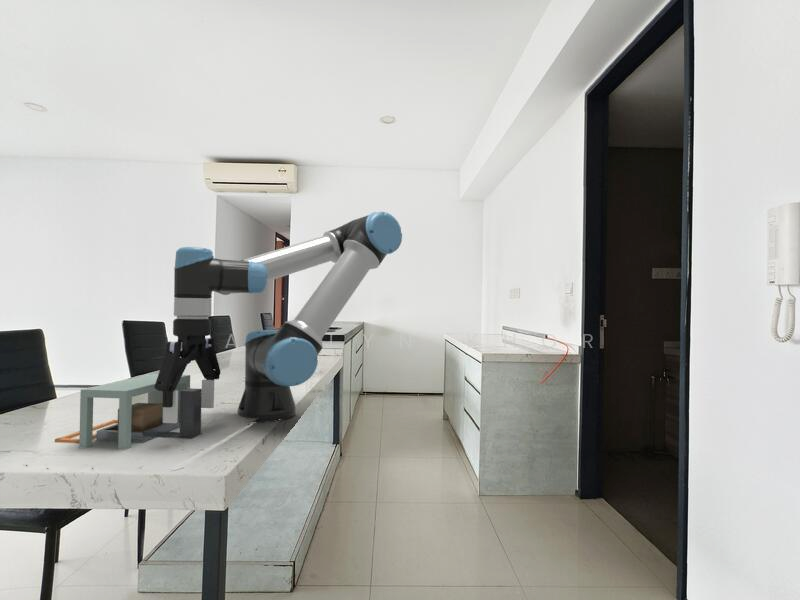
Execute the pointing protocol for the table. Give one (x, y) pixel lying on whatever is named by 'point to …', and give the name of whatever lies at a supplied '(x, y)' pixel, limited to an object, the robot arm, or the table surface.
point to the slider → (188, 423)
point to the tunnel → (122, 404)
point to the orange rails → (69, 437)
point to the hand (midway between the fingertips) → (190, 414)
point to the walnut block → (145, 416)
